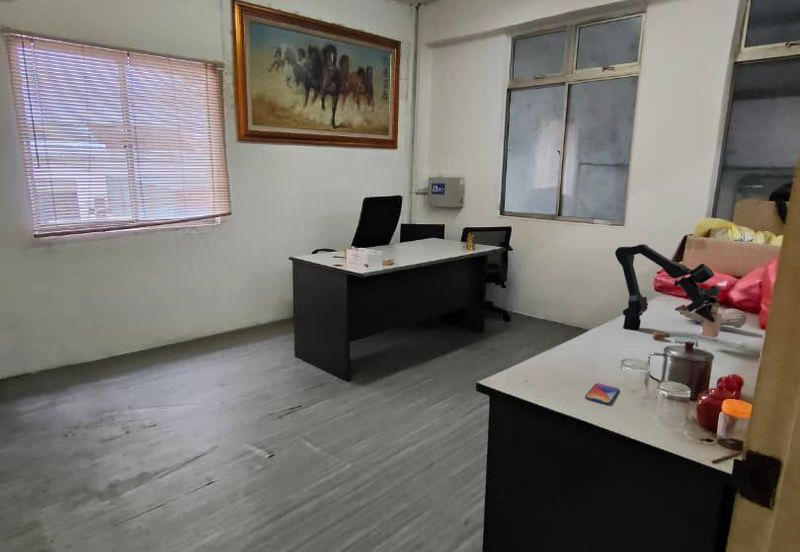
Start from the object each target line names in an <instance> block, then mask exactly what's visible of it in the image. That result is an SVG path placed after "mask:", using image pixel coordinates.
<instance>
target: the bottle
mask: <svg viewBox="0 0 800 552" xmlns="http://www.w3.org/2000/svg"><path fill="white" fill-rule="evenodd" d="M720 304H721V303H718V302H717V303H712V304H711V305H712V307H711V312H710V313H711V315H712V316H713V318H714V320H715V322H711V321H709V320H707V319H706V318H704V324H703V323H702V324H703V325H702V329H703V330H702V335H705V336H709V337H713V338H714V337H717V336H719V332H720V329H721V328H720V327H721V325H720V323H721V317H722V314H719V313H717V312H718V311H719V307H720Z"/></svg>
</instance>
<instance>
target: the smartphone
mask: <svg viewBox="0 0 800 552" xmlns="http://www.w3.org/2000/svg"><path fill="white" fill-rule="evenodd" d="M619 392H620V388H618V387H615V386H610V385H606V384H602V383H595V384H594V385H593V386H592V387H591V388H590V390H588V392H587V393H586V394H585V395H584V399H585V400H587V401H590V402H594V403H598V404H601V405H604V406H605V405H606V406H610V405H611V404H612V403H613V401H614V399H615V398H616V397H617V396H618V394H619Z"/></svg>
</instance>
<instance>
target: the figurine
mask: <svg viewBox="0 0 800 552" xmlns="http://www.w3.org/2000/svg"><path fill="white" fill-rule="evenodd" d="M674 311H676V312H678V313H679V315H682V316H684V317H685V318H688V319H690V321H691V322H696V323H699V324H700V325H702V326H703V324H704V317H702V316H700V315H698V314H697V313H694V311H696V309H694V310H693V311H692V312H689V311H688V310H687V305H685V304H681V305H680V306H677V307H675V308H674ZM717 313H719V314H722V317H721V323H720V327H723V326H729V327H730V326H731V327H733V328H734V329H741V328H742V327H744V325H745V324H746V322H747V317H746V316H747V315H746V314H745V312H744V311H742V310H739V309H736V308H727V309H725V310H718V312H717Z"/></svg>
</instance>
